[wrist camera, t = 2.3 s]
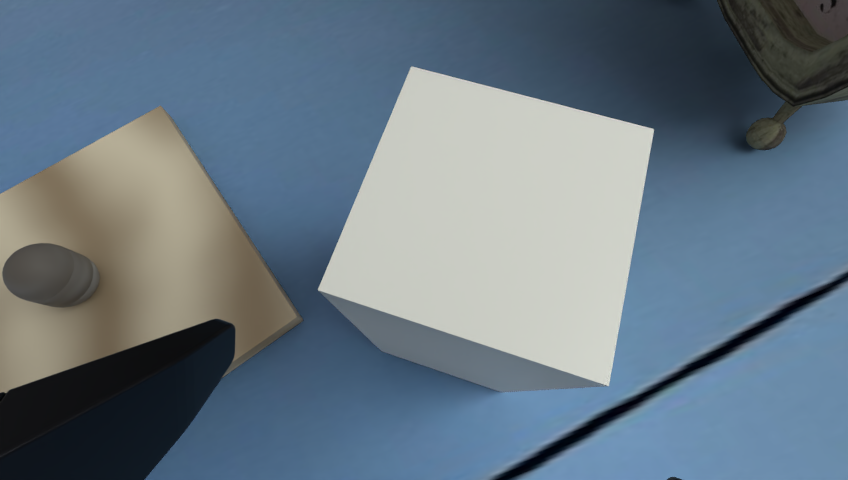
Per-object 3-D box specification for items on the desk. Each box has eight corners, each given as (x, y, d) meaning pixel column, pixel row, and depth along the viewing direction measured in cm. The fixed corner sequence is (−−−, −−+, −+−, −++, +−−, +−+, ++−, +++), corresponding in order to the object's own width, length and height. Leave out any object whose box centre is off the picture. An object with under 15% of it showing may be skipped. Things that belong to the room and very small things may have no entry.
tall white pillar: (502, 392, 19) (608, 385, 8) (381, 351, 20) (317, 289, 8) (531, 274, 21) (653, 129, 10) (420, 240, 21) (411, 66, 10)
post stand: (4, 531, 17) (-132, 573, 13) (-91, 263, 21) (-220, 230, 17) (303, 320, 20) (269, 300, 16) (171, 117, 24) (116, 57, 20)
